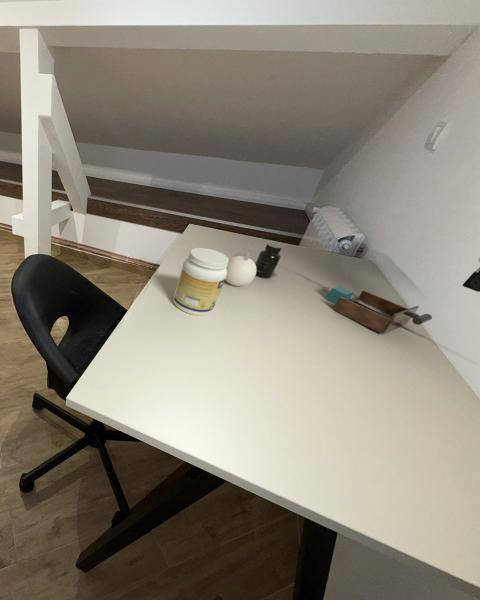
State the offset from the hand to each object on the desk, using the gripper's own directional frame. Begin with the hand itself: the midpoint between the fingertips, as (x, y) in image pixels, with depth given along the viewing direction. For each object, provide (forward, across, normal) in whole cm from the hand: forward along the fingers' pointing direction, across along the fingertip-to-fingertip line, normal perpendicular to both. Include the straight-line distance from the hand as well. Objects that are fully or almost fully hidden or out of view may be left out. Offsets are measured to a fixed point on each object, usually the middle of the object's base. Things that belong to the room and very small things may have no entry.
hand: (478, 285), depth 77 cm
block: (+18, 0, -22) cm, 28 cm away
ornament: (+20, +27, -44) cm, 56 cm away
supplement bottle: (+20, +10, -46) cm, 51 cm away
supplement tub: (+20, +52, -38) cm, 68 cm away
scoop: (+20, 0, -12) cm, 23 cm away
